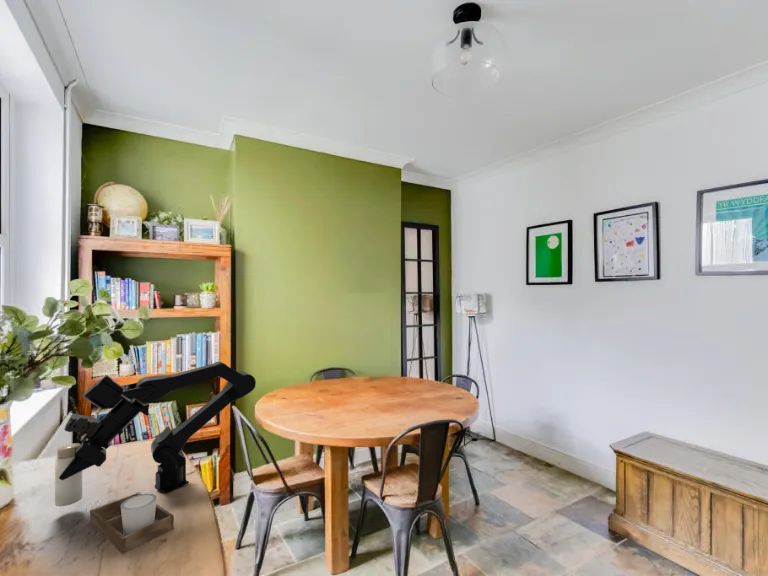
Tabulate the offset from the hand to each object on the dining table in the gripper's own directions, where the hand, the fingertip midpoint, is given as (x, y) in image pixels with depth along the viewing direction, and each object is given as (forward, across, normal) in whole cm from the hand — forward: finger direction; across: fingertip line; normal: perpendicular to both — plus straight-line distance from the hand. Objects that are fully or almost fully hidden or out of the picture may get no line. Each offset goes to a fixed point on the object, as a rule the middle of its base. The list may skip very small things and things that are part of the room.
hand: (61, 474), depth 92 cm
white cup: (-3, +19, +17) cm, 26 cm away
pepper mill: (+4, 0, +6) cm, 7 cm away
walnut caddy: (-2, +16, +16) cm, 23 cm away
